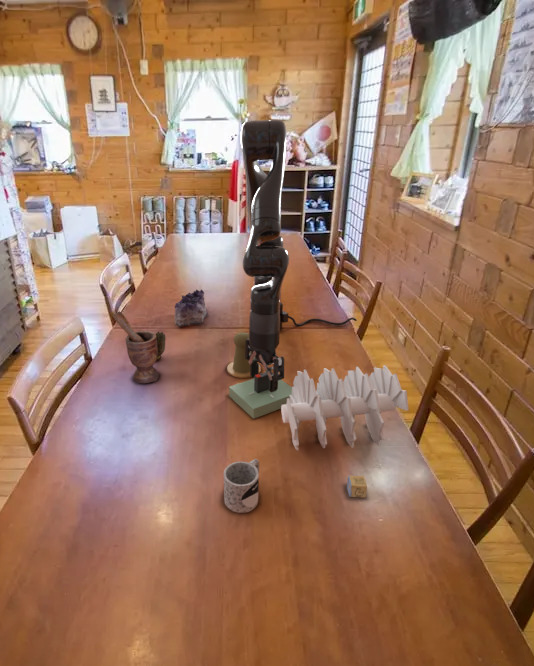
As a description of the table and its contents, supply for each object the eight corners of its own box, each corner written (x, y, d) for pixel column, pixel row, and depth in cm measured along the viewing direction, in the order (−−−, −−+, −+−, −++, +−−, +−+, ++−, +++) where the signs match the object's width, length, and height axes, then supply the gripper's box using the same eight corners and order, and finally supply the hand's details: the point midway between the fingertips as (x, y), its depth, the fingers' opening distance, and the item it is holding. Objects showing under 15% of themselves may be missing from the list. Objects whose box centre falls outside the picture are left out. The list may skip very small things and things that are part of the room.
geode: (180, 307, 180) (183, 283, 176) (209, 311, 179) (212, 287, 175) (169, 326, 161) (171, 300, 157) (201, 331, 161) (204, 305, 157)
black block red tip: (269, 385, 121) (269, 369, 119) (272, 388, 120) (273, 372, 118) (254, 390, 119) (254, 374, 117) (257, 393, 117) (257, 377, 115)
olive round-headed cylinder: (255, 364, 136) (255, 331, 131) (249, 374, 131) (249, 340, 126) (236, 361, 138) (236, 328, 133) (230, 371, 133) (229, 337, 128)
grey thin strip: (247, 518, 85) (247, 491, 82) (217, 503, 88) (216, 477, 85) (271, 484, 92) (272, 458, 90) (243, 472, 96) (243, 447, 93)
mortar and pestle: (117, 386, 127) (108, 321, 119) (122, 370, 135) (113, 308, 127) (159, 384, 128) (152, 319, 119) (161, 369, 136) (155, 307, 127)
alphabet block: (346, 486, 92) (347, 474, 90) (362, 486, 91) (363, 475, 90) (349, 498, 89) (351, 486, 87) (365, 498, 89) (367, 486, 87)
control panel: (271, 381, 128) (271, 372, 127) (298, 402, 119) (298, 391, 118) (229, 396, 122) (228, 386, 121) (253, 418, 113) (253, 408, 111)
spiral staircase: (280, 443, 110) (380, 431, 111) (294, 464, 92) (413, 450, 94) (272, 368, 110) (372, 357, 111) (285, 375, 92) (404, 362, 94)
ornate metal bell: (169, 354, 144) (167, 331, 141) (164, 365, 138) (162, 341, 134) (146, 353, 145) (144, 330, 142) (140, 364, 138) (137, 341, 135)
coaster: (249, 358, 141) (249, 356, 141) (267, 372, 133) (267, 370, 133) (220, 366, 136) (220, 365, 136) (238, 381, 129) (238, 379, 128)
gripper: (294, 333, 107) (291, 392, 114) (260, 314, 119) (260, 368, 125) (268, 341, 104) (267, 400, 111) (236, 320, 115) (236, 375, 122)
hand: (263, 383), depth 118 cm, fingers open, 8 cm apart
